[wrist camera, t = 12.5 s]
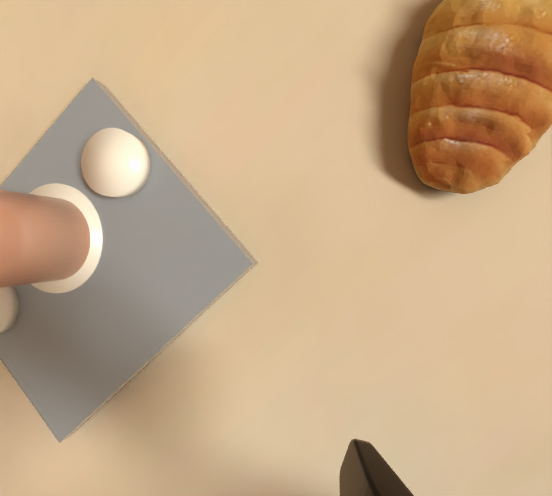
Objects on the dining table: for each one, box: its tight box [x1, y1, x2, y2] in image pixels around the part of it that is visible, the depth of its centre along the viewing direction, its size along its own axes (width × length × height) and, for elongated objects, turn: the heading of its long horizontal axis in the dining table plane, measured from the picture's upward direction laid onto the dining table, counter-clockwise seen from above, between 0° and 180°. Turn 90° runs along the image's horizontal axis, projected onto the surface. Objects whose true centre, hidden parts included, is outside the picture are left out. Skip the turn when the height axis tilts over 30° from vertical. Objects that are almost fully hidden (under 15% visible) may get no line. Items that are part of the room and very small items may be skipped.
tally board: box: [0, 78, 258, 443], centre depth 21 cm, size 14×16×2 cm
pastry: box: [408, 0, 552, 194], centre depth 15 cm, size 9×7×4 cm
